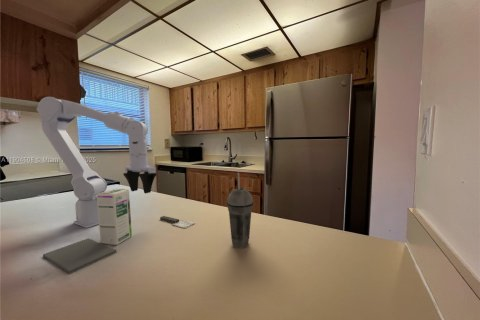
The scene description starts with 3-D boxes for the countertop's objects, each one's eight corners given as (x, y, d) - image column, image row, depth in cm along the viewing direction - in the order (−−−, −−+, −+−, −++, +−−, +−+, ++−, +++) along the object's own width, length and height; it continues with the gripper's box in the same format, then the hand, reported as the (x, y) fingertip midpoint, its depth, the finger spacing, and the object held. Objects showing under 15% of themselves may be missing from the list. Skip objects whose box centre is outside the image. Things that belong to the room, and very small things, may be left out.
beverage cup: (256, 239, 59) (256, 171, 58) (249, 252, 52) (249, 174, 51) (232, 236, 61) (232, 170, 60) (223, 248, 55) (222, 173, 53)
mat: (43, 256, 51) (42, 254, 51) (88, 240, 60) (88, 238, 60) (69, 273, 44) (69, 270, 44) (116, 252, 53) (116, 249, 53)
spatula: (156, 221, 74) (156, 218, 74) (167, 217, 79) (167, 214, 78) (185, 228, 67) (185, 225, 67) (195, 223, 72) (195, 220, 72)
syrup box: (117, 245, 56) (114, 193, 55) (99, 243, 57) (96, 192, 56) (132, 236, 62) (130, 189, 61) (115, 234, 63) (113, 188, 62)
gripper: (161, 154, 74) (163, 191, 75) (136, 154, 81) (138, 187, 82) (143, 155, 68) (146, 195, 69) (118, 155, 75) (121, 191, 76)
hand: (140, 191), depth 75 cm, fingers open, 7 cm apart
